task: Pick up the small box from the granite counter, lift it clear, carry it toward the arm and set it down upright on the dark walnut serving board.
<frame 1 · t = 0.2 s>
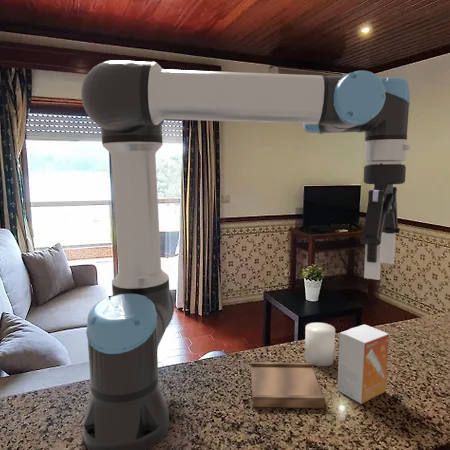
hand: (380, 270, 79), 26 cm above the counter, fingers open, 13 cm apart
white cylinder: (319, 359, 97), on the counter
small box: (361, 392, 83), on the counter
walnut board: (284, 387, 84), on the counter
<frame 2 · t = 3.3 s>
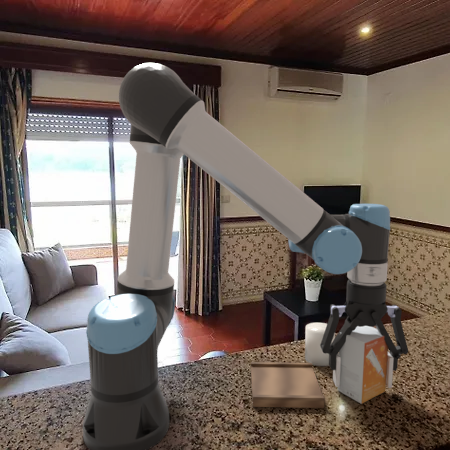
hand: (361, 383, 82), 2 cm above the counter, fingers closed on small box, 10 cm apart
small box: (361, 392, 83), on the counter, touching gripper
everything else where it was.
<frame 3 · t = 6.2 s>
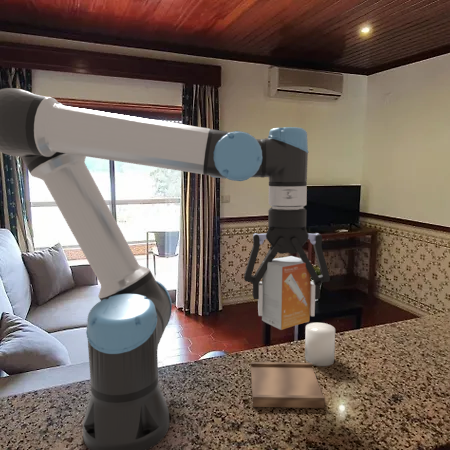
hand: (285, 313, 82), 17 cm above the counter, fingers closed on small box, 10 cm apart
small box: (285, 322, 82), point 15 cm above the counter, touching gripper
everything else where it was.
when the fingers open (4 cm above the counter, at t = 9.2 s): small box stays where it is, resting on walnut board.
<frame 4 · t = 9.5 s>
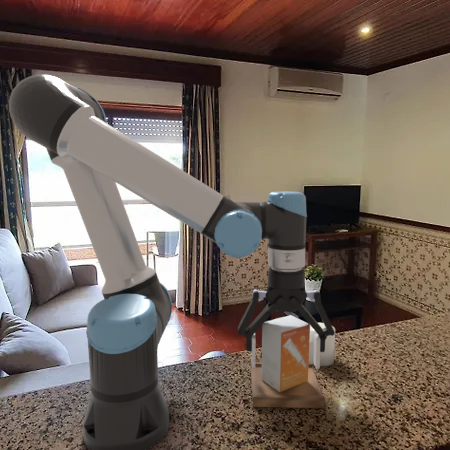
hand: (284, 365, 83), 5 cm above the counter, fingers open, 13 cm apart
small box: (284, 381, 84), point 1 cm above the counter, touching walnut board
everything else where it was.
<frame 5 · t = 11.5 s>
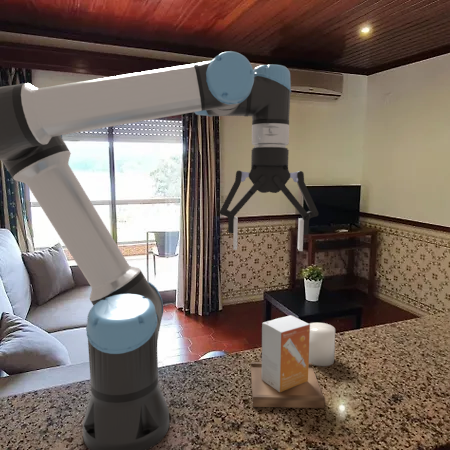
hand: (267, 249, 83), 30 cm above the counter, fingers open, 13 cm apart
nothing on the counter moved.
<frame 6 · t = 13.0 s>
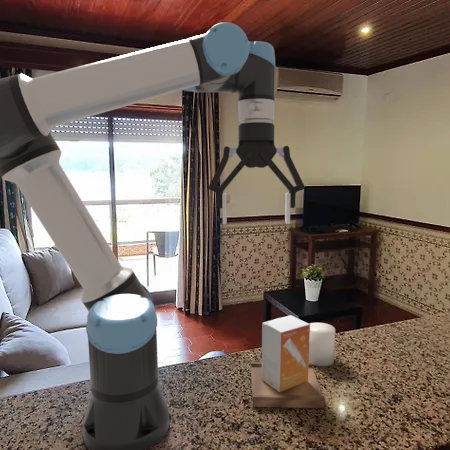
hand: (255, 223, 85), 35 cm above the counter, fingers open, 13 cm apart
nothing on the counter moved.
at the end: small box inside the target area on the walnut board (0.1 cm from its centre), point 1.3 cm above the walnut board's base; small box tilted 0°; the gripper is holding nothing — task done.
